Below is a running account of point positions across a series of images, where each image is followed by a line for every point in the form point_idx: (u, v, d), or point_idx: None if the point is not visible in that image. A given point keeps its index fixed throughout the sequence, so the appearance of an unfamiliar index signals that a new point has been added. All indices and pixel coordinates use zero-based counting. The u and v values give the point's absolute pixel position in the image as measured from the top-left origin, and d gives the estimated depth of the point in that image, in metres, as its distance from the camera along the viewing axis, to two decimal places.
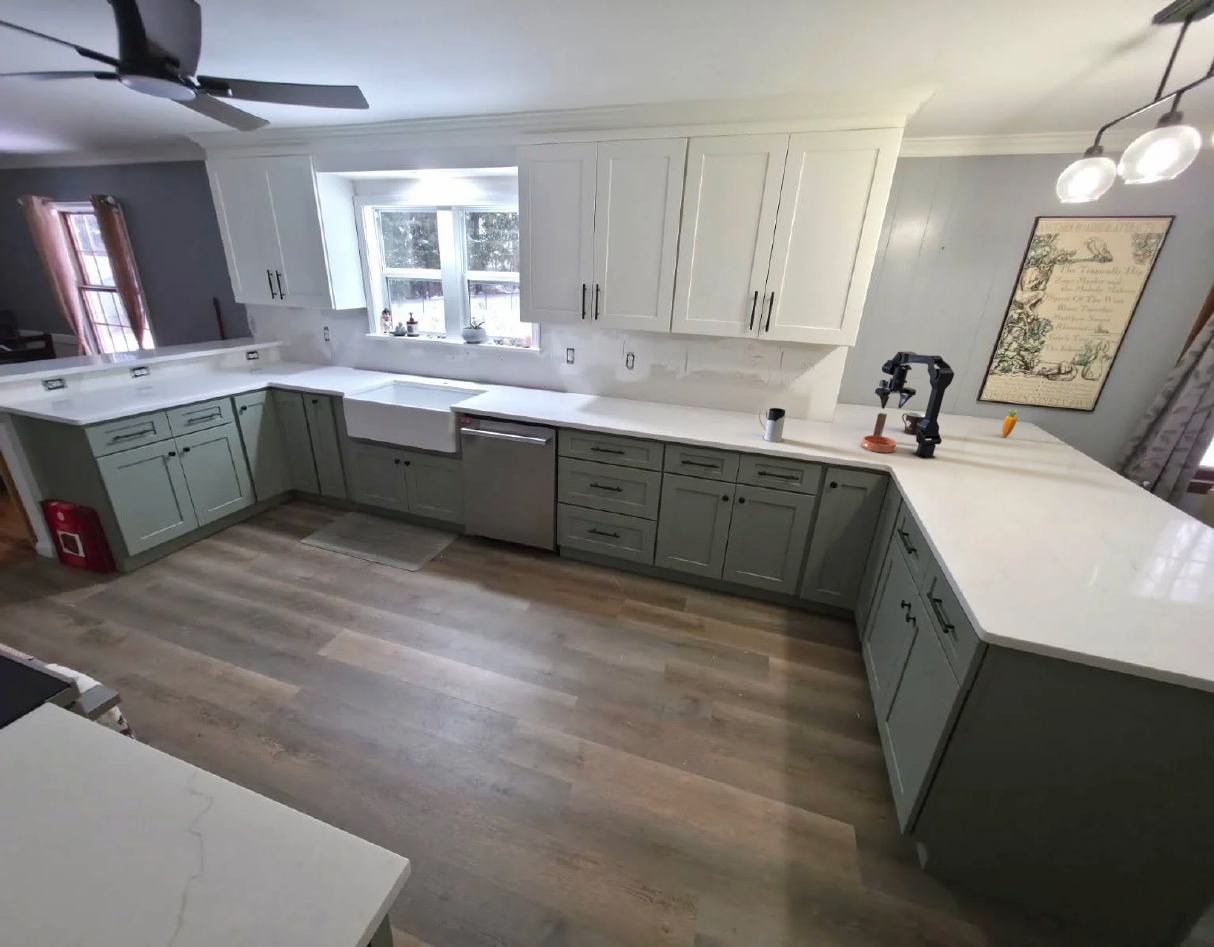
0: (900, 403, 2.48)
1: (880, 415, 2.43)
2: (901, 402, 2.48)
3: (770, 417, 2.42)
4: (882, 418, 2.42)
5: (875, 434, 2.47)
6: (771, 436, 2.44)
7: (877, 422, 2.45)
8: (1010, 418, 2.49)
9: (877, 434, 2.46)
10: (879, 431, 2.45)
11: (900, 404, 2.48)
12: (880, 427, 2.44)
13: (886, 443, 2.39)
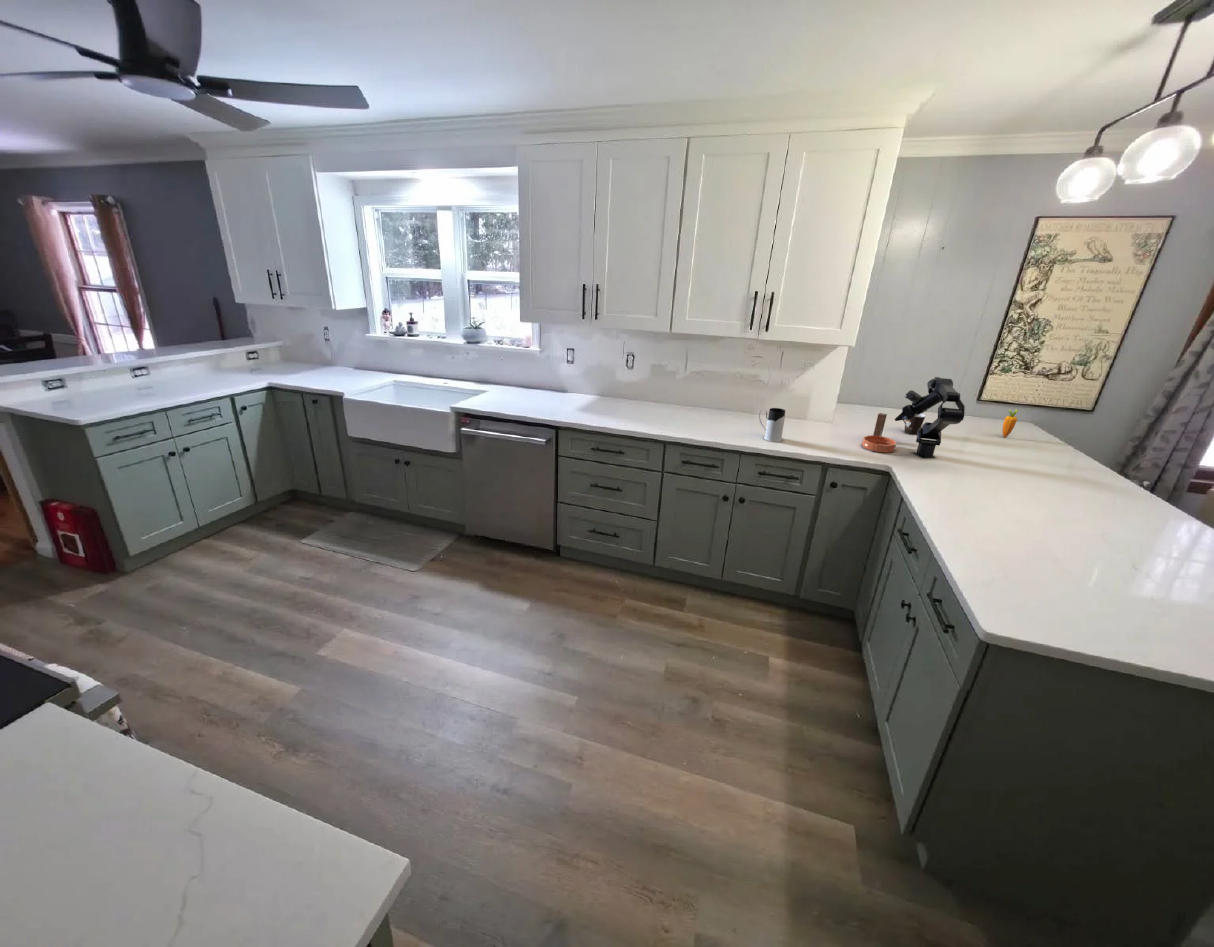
0: None
1: (880, 415, 2.43)
2: None
3: (770, 417, 2.42)
4: (882, 418, 2.42)
5: (875, 434, 2.47)
6: (771, 436, 2.44)
7: (877, 422, 2.45)
8: (1010, 418, 2.49)
9: (877, 434, 2.46)
10: (879, 431, 2.45)
11: None
12: (880, 427, 2.44)
13: (886, 443, 2.39)
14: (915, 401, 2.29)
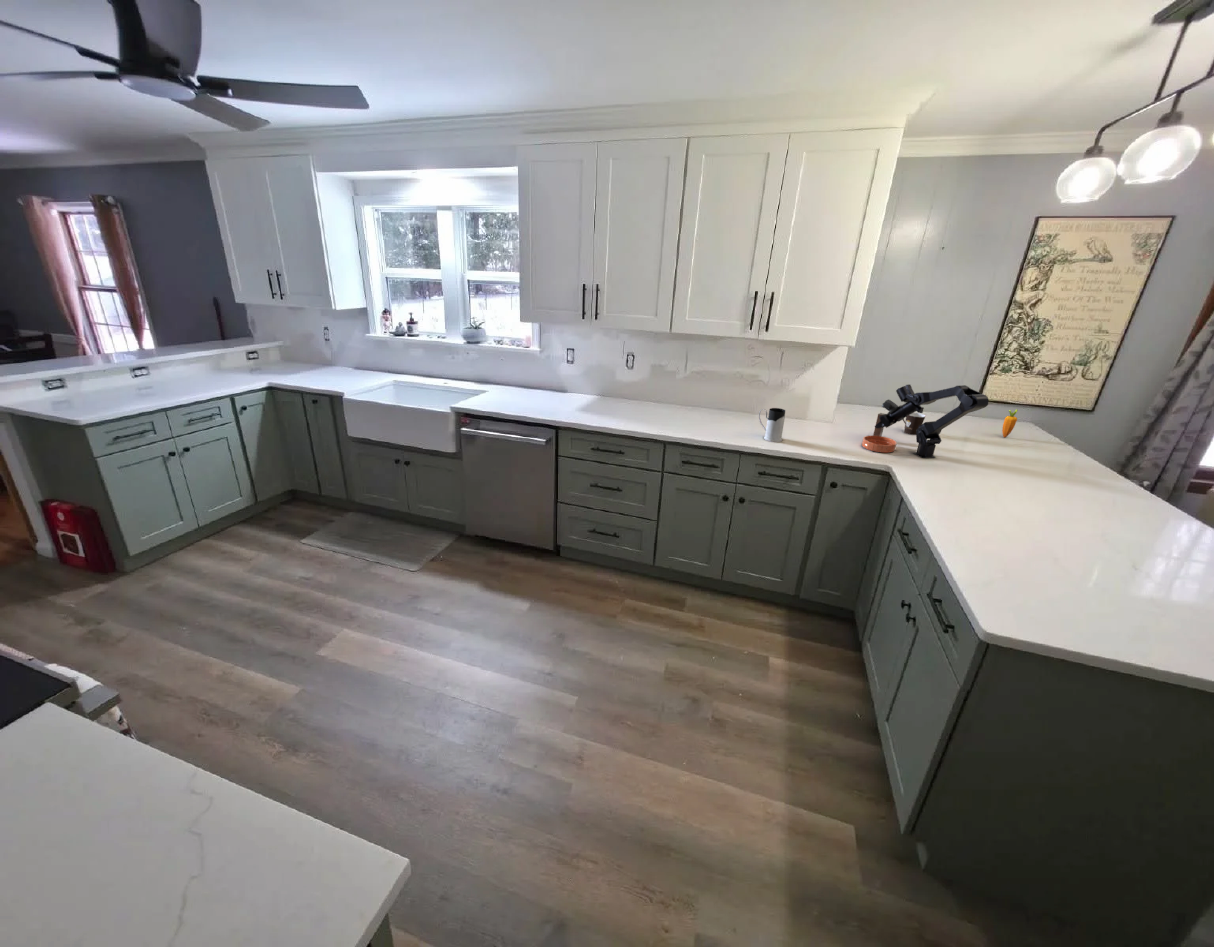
0: None
1: (880, 415, 2.43)
2: None
3: (770, 417, 2.42)
4: None
5: (875, 434, 2.47)
6: (771, 436, 2.44)
7: (877, 422, 2.45)
8: (1010, 418, 2.49)
9: (877, 434, 2.46)
10: (879, 431, 2.45)
11: None
12: (880, 427, 2.44)
13: (886, 443, 2.39)
14: (891, 410, 2.37)
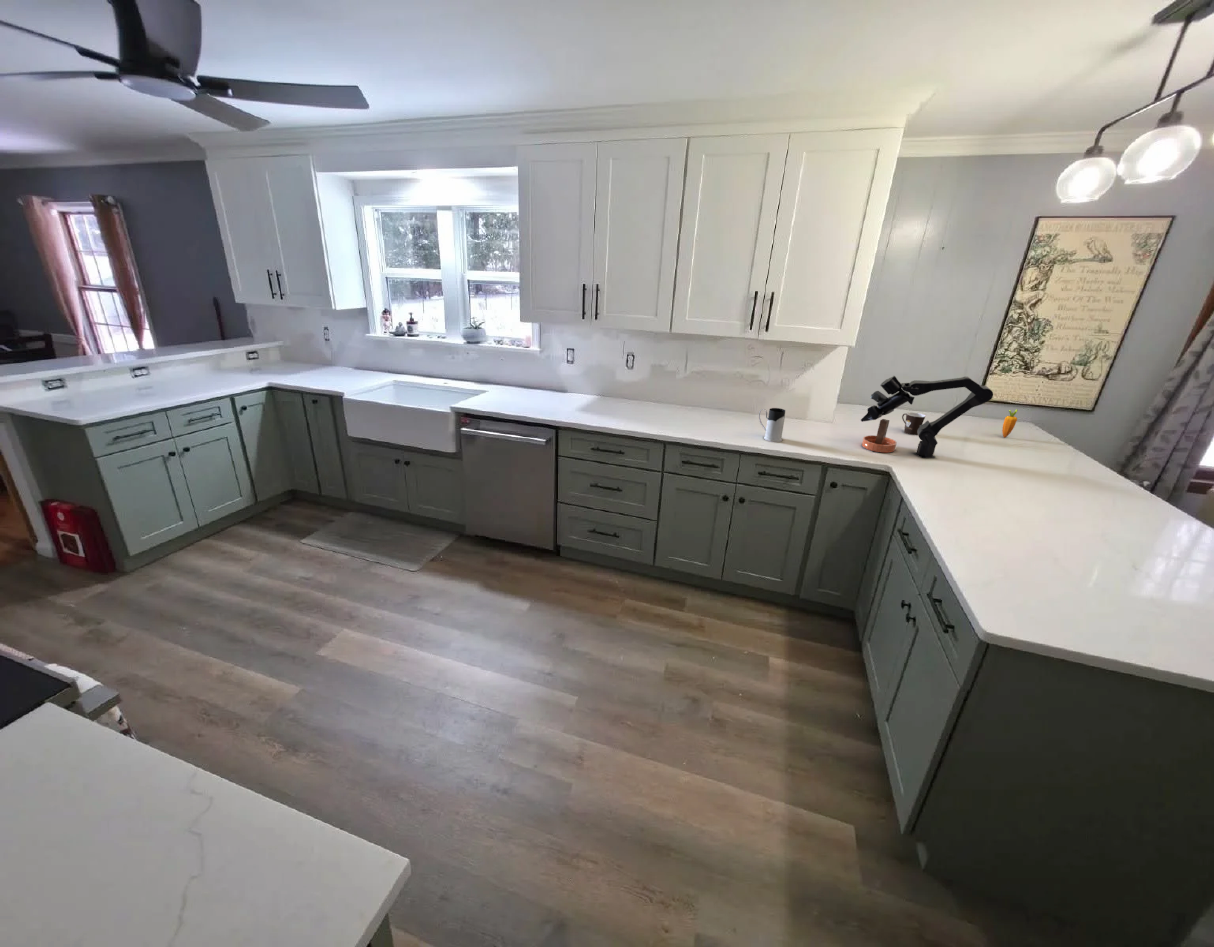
0: None
1: (882, 421, 2.31)
2: None
3: (770, 417, 2.42)
4: (884, 424, 2.31)
5: (877, 441, 2.36)
6: (771, 436, 2.44)
7: (879, 429, 2.33)
8: (1010, 418, 2.49)
9: (879, 441, 2.35)
10: (881, 438, 2.34)
11: None
12: (882, 434, 2.33)
13: (886, 443, 2.39)
14: (880, 402, 2.29)
